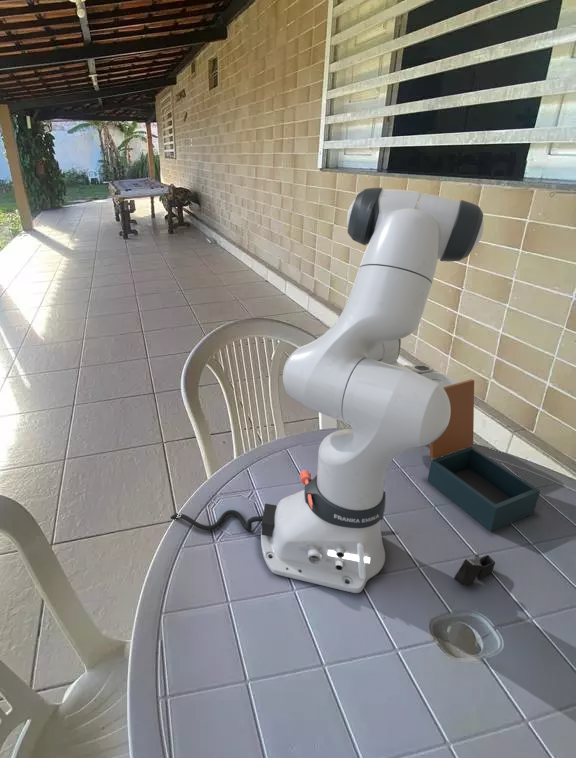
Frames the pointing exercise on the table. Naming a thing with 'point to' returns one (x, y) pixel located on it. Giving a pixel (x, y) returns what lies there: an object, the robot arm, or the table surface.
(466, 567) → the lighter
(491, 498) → the black flat slab
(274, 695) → the table surface
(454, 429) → the cover
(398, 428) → the robot arm
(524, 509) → the case
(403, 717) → the table surface
